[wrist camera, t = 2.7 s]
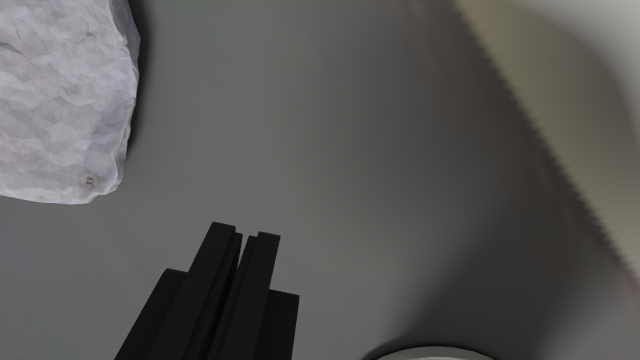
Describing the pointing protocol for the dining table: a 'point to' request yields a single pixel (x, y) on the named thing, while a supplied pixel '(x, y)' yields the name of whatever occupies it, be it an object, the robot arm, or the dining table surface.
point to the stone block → (65, 97)
